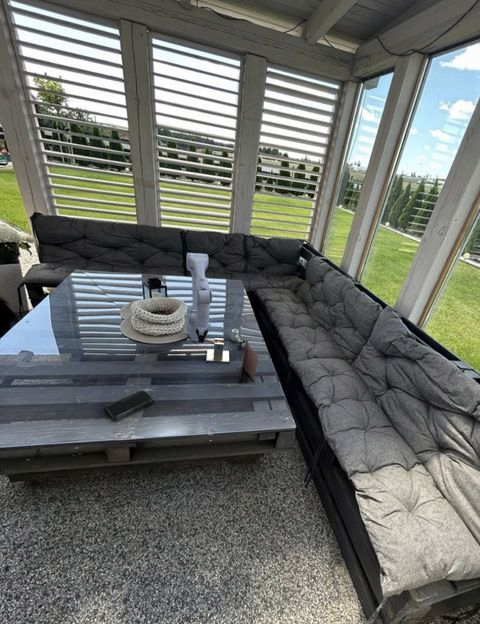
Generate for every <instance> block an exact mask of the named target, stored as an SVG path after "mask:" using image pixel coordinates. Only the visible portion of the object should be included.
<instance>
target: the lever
mask: <svg viewBox="0 0 480 624" xmlns="http://www.w3.org/2000/svg"><path fill="white" fill-rule="evenodd" d="M204 342H207V343H210V344H213V345H214V344H215V343H223V342H221V341H218V340H217V342H215V340H213V339H210V338H207V337H205V340H204Z"/></svg>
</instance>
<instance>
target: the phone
mask: <svg viewBox="0 0 480 624" xmlns="http://www.w3.org/2000/svg"><path fill="white" fill-rule="evenodd" d="M152 403H153V398H152V397H151V396H150V395H149V394H148V393H147V392H146V391H145V390H139V391H137V392H135V393H133V394H130V395H128V396H126V397H123V398H121V399H118V400H116V401H114V402H110V403H109V404H107V405H106V406H104V407H105V411H106V412H107V414H108V415H109V416H110V417H111V419H112V420H113V421H118V420H121V419H123V418H124V417H126V416H129V415H131V414H132V413H134V412H135V413H136V411H139V410H142V409H143V408H146V407H147V406H150V405H151V404H152Z"/></svg>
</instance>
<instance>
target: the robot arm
mask: <svg viewBox="0 0 480 624" xmlns="http://www.w3.org/2000/svg"><path fill="white" fill-rule="evenodd" d="M208 267H209V255H208V254H207V253H195V252H193V253H192V252H187V253H186V270H187V271H189V272H190V274H191V287H192V288H191V289H192V290H191V291H192V293H191V294H192V304H191V305H190V306H189V307H187V309H186V320H187V321H186V324H185V325H186V331H187V332H188V333H189V334H190V335H188V336H189V338H190V339H192V340H196V341H197V340H198V343H201V344H204V343H205V341H204V340H205V338H207V337H206V336H207V335H208V333H209V330H208V328H209V327H212V323H211V322H210V312H211V311H210V310H211V304H212V301H213V293H212V289H211V288H210V285H209V279H208V278H207V277H206V275H205V273H206V271H207V269H208ZM186 331H185V332H186Z"/></svg>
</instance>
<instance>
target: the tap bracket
mask: <svg viewBox="0 0 480 624" xmlns="http://www.w3.org/2000/svg"><path fill="white" fill-rule="evenodd" d="M217 340H218V341H221V342H223V343H215V344H213V349H207V350H206V362H214V363H215V362H217V363H230V351H229V350H224V346H225V343H224V342H225V339H224V338H218V337H216V338H214V341H215V342H217Z"/></svg>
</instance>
